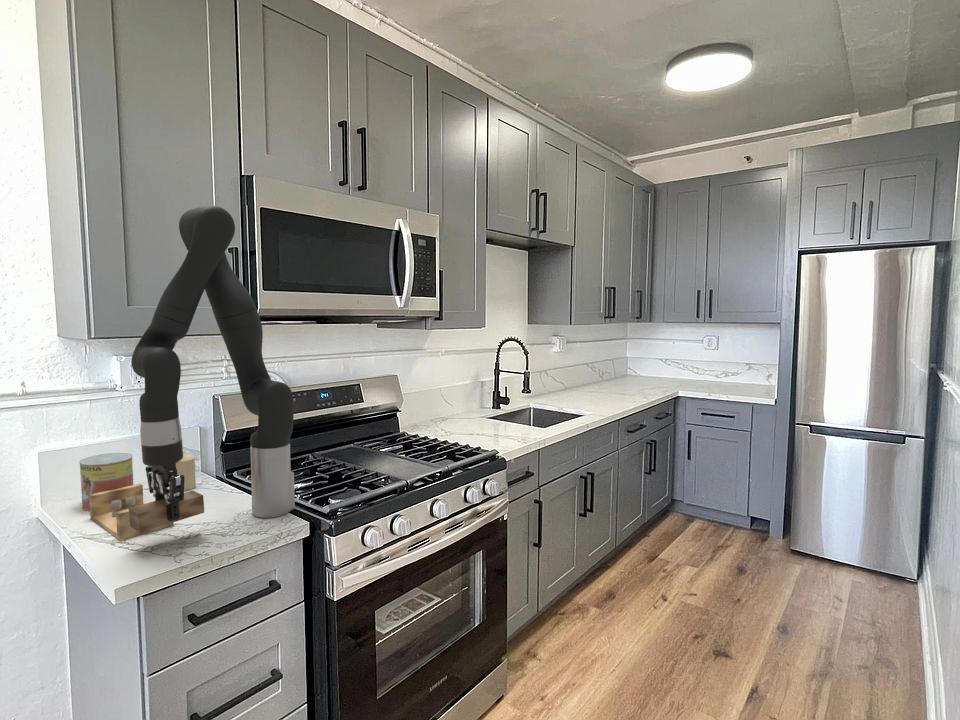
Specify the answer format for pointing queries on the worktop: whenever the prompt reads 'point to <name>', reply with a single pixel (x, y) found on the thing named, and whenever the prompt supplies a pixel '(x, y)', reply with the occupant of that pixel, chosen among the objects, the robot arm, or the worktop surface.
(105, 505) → the peg frame
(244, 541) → the worktop surface
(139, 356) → the robot arm
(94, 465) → the canned food
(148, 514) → the brown wooden block
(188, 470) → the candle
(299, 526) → the worktop surface
